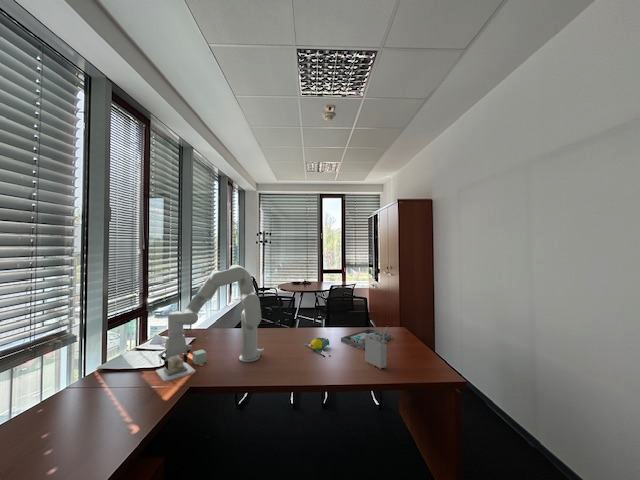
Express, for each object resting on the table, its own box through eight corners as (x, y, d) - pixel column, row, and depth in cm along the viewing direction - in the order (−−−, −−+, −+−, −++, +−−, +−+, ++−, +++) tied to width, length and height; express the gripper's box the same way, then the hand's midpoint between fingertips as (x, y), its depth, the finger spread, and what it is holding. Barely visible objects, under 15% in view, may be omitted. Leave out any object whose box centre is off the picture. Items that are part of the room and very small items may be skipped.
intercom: (385, 332, 217) (361, 339, 203) (385, 338, 217) (361, 345, 203) (373, 328, 228) (349, 334, 214) (373, 333, 228) (349, 339, 214)
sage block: (202, 359, 178) (202, 349, 178) (206, 362, 174) (206, 352, 174) (192, 361, 174) (192, 351, 174) (196, 364, 170) (196, 354, 170)
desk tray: (368, 331, 231) (368, 328, 231) (391, 338, 216) (391, 334, 216) (340, 341, 209) (340, 337, 209) (363, 350, 194) (363, 345, 193)
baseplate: (185, 363, 171) (185, 359, 171) (195, 372, 160) (195, 368, 160) (155, 371, 160) (155, 368, 160) (163, 382, 149) (163, 378, 149)
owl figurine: (299, 333, 202) (317, 330, 210) (298, 345, 202) (316, 342, 210) (320, 346, 178) (339, 341, 187) (320, 360, 178) (339, 355, 187)
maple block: (179, 367, 164) (179, 356, 164) (183, 370, 160) (183, 359, 160) (168, 370, 160) (168, 359, 160) (171, 374, 156) (171, 363, 156)
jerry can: (390, 369, 164) (390, 326, 164) (384, 371, 162) (384, 327, 162) (370, 360, 177) (371, 320, 177) (365, 362, 174) (365, 321, 174)
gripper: (189, 329, 169) (189, 358, 169) (156, 336, 157) (157, 367, 157) (194, 332, 163) (194, 362, 163) (160, 339, 151) (160, 372, 152)
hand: (176, 364), depth 160 cm, fingers open, 9 cm apart
